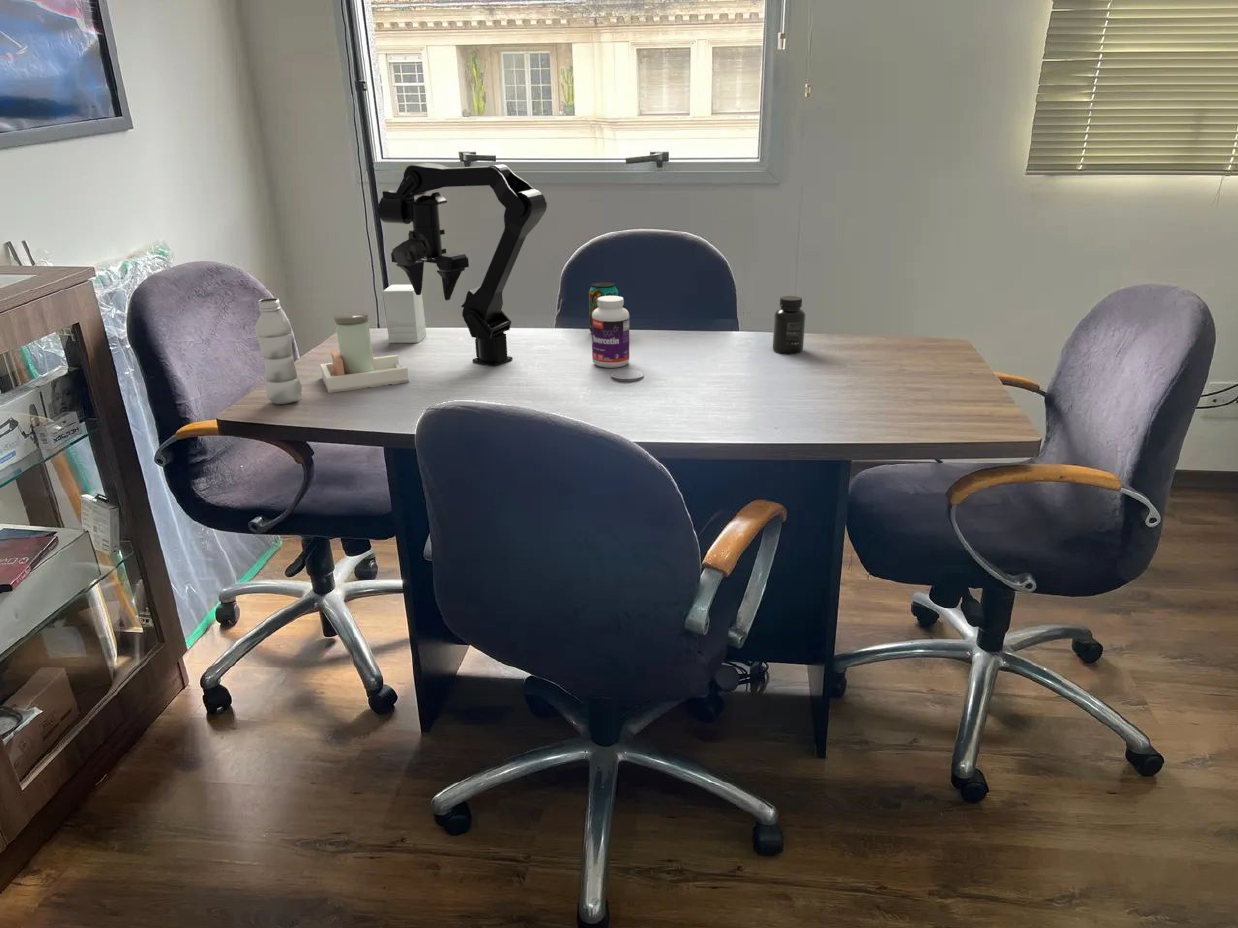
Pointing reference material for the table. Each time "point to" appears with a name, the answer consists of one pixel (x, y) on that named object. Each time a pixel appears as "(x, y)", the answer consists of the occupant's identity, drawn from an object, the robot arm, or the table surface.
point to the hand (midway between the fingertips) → (432, 297)
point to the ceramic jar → (354, 342)
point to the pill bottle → (610, 333)
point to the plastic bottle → (277, 353)
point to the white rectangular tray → (366, 375)
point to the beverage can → (599, 295)
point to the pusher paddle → (337, 363)
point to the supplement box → (404, 314)
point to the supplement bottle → (789, 326)
